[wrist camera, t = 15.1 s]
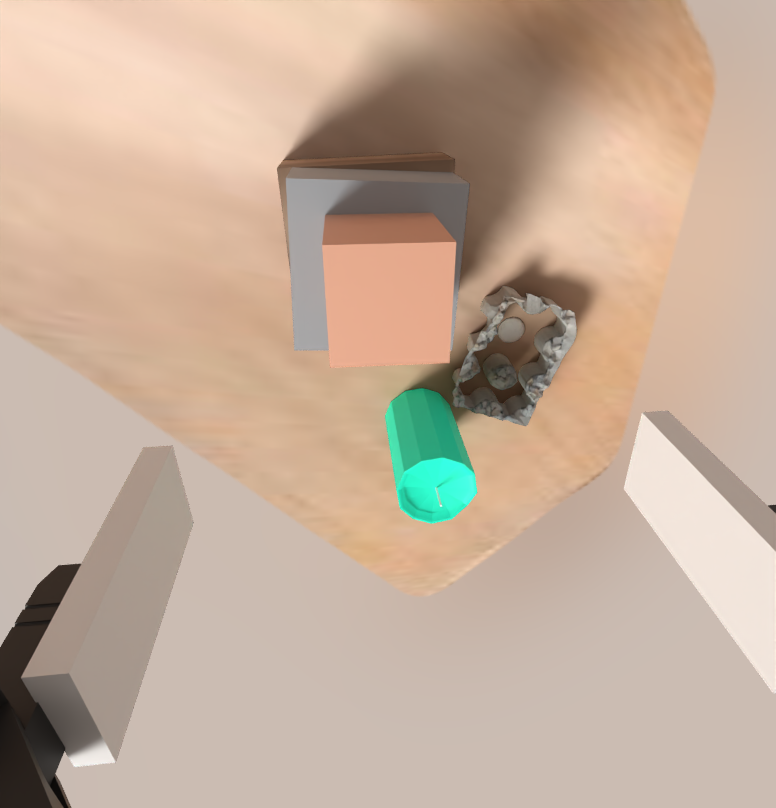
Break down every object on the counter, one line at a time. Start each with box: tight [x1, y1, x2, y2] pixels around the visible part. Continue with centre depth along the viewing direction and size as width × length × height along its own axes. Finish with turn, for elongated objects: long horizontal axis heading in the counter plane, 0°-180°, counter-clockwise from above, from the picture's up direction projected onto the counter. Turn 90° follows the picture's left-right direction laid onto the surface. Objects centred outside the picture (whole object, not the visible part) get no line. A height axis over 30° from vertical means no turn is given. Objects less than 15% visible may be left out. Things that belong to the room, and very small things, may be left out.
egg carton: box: [452, 286, 577, 426], centre depth 44 cm, size 11×8×4 cm
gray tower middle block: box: [286, 167, 470, 350], centre depth 34 cm, size 10×10×5 cm
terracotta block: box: [322, 213, 456, 368], centre depth 29 cm, size 6×6×7 cm
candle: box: [385, 388, 477, 524], centre depth 43 cm, size 6×6×12 cm
